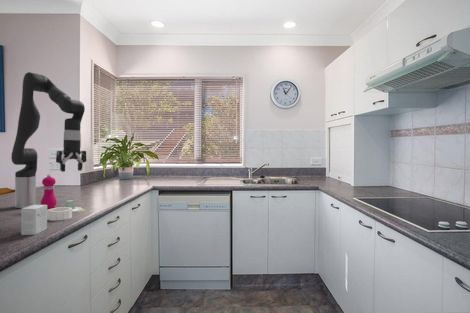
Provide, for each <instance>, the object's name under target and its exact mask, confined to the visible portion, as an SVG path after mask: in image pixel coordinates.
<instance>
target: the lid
mask: <svg viewBox="0 0 470 313" xmlns="http://www.w3.org/2000/svg"><path fill="white" fill-rule="evenodd" d="M75 202H76V201H75V199H70V200H64V207H70V208H72V214H75V213H74V212H76V213H79V211H81V212H83V211H82V209H83V207H81V206H76V204H75Z"/></svg>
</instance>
